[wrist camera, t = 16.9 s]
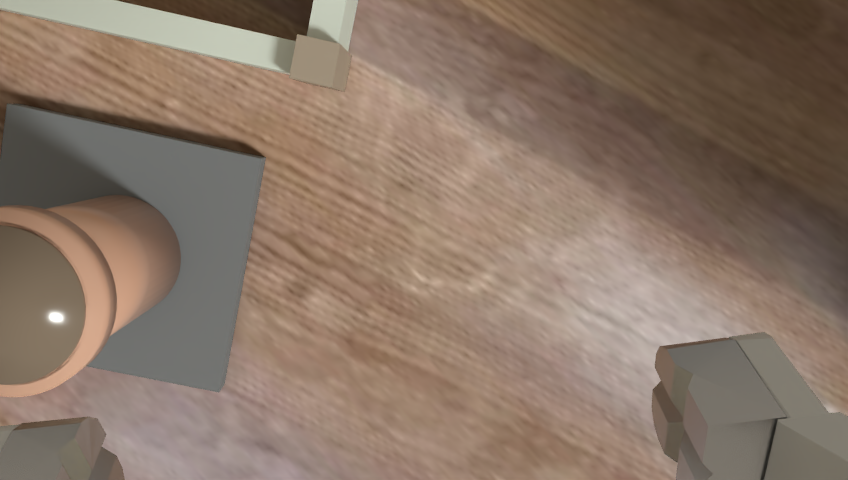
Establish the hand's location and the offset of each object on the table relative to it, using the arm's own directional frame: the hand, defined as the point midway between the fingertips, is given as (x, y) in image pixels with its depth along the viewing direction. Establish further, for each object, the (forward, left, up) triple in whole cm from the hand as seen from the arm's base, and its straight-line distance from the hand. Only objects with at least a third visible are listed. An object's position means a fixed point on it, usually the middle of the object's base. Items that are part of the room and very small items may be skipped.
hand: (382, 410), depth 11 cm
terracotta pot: (+12, +5, -22) cm, 25 cm away
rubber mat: (+12, +5, -23) cm, 26 cm away
